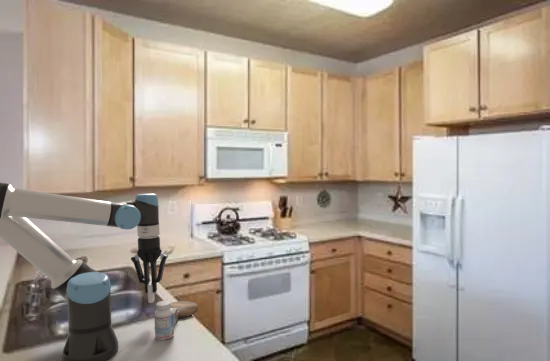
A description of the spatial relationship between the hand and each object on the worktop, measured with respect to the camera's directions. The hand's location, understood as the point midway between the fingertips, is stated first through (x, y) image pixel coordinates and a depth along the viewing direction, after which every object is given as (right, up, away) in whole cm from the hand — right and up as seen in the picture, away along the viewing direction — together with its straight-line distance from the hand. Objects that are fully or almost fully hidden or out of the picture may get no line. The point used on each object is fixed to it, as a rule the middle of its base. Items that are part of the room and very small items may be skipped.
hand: (151, 301), depth 137 cm
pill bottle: (+8, -8, -11) cm, 16 cm away
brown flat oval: (+8, -7, +7) cm, 13 cm away
